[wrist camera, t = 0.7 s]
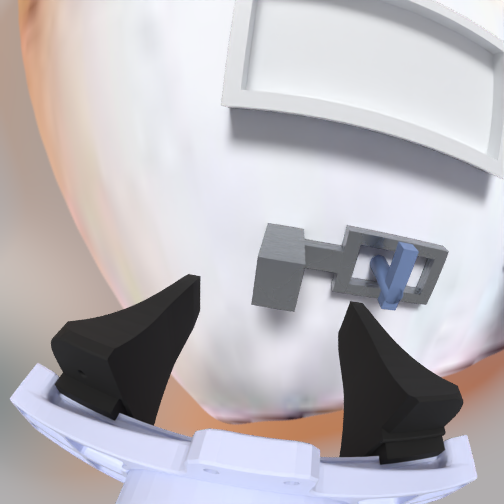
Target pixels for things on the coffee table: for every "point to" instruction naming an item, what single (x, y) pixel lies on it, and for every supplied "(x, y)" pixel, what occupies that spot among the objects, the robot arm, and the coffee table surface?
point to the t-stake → (394, 274)
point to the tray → (374, 71)
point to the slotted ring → (332, 265)
